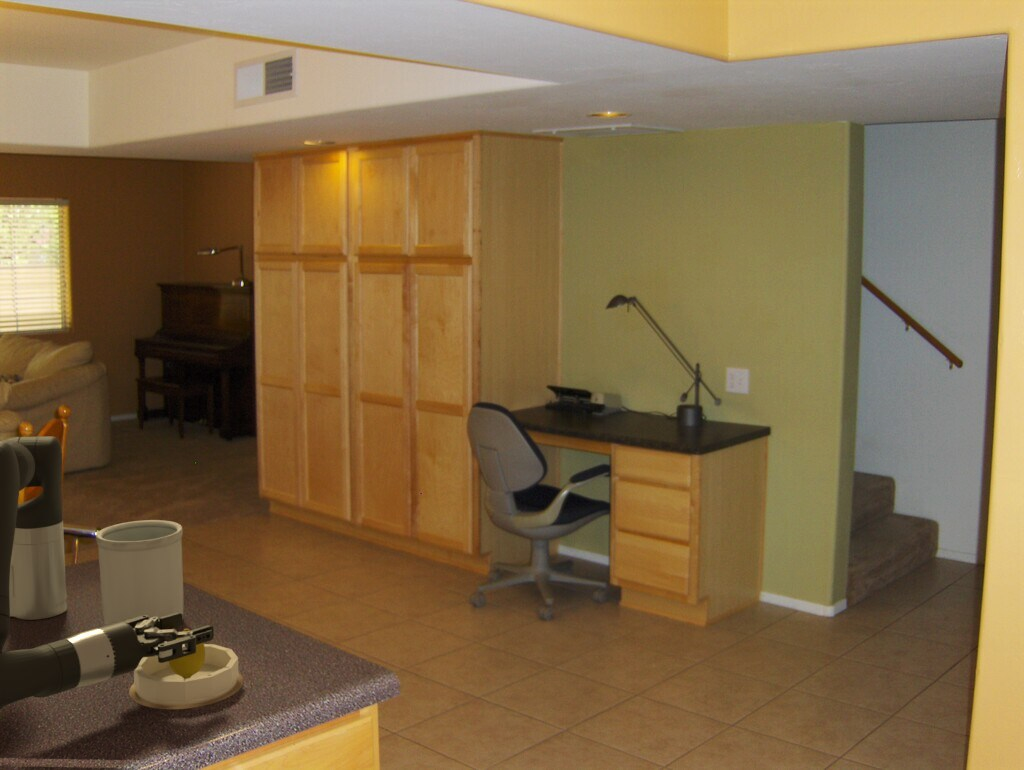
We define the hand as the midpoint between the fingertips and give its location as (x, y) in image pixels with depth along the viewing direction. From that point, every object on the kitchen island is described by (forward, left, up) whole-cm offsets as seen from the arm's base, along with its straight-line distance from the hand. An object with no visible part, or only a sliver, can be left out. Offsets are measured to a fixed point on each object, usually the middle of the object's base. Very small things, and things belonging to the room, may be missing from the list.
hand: (196, 625), depth 167 cm
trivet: (-1, -1, -10) cm, 10 cm away
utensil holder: (-18, +28, -10) cm, 35 cm away
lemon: (-1, -2, -8) cm, 9 cm away
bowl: (-1, -1, -9) cm, 9 cm away
